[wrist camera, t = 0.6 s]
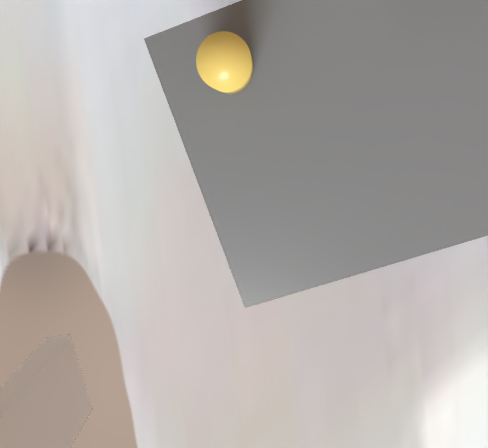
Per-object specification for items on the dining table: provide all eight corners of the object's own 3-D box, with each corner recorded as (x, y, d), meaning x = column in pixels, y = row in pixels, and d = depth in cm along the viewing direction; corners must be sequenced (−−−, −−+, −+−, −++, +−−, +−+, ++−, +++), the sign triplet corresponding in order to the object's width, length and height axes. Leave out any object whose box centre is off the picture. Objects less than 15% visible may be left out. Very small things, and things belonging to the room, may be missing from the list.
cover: (259, 337, 27) (259, 386, 22) (149, 41, 23) (118, 23, 18) (609, 236, 25) (694, 267, 20) (561, -120, 20) (656, -192, 15)
